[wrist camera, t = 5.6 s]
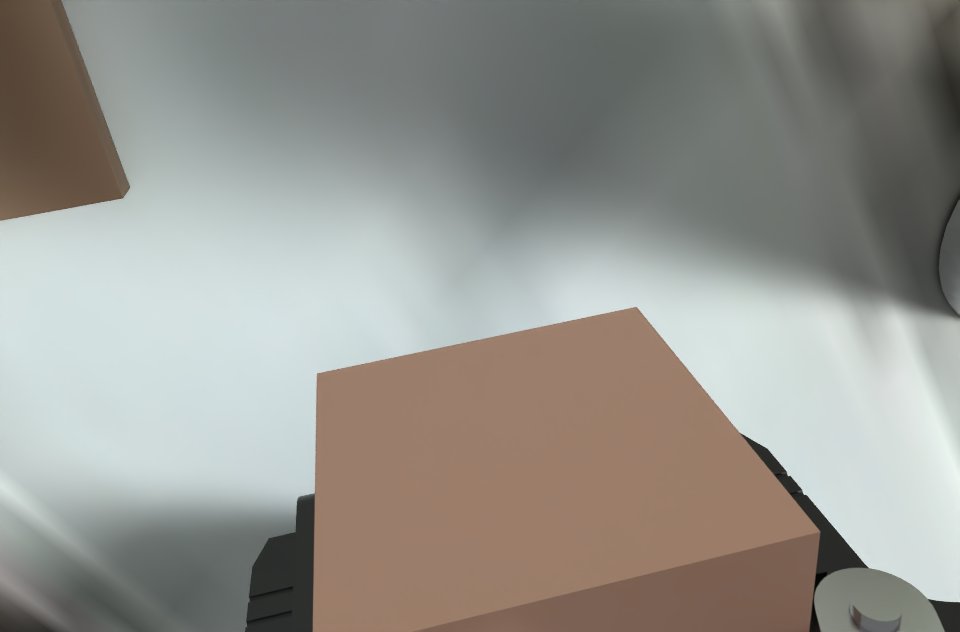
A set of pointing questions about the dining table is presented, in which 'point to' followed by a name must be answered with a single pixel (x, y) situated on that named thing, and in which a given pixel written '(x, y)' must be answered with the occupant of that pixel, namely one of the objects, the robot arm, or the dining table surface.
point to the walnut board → (50, 117)
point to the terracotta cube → (548, 494)
